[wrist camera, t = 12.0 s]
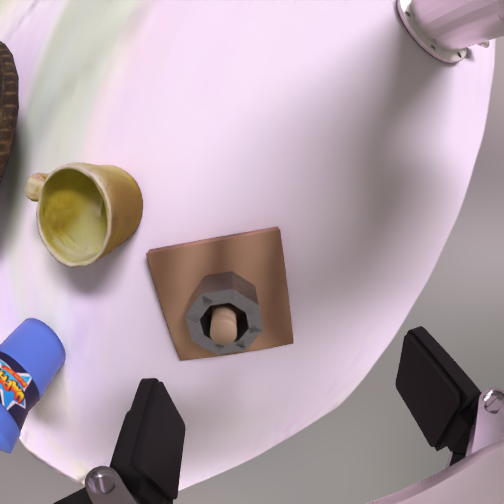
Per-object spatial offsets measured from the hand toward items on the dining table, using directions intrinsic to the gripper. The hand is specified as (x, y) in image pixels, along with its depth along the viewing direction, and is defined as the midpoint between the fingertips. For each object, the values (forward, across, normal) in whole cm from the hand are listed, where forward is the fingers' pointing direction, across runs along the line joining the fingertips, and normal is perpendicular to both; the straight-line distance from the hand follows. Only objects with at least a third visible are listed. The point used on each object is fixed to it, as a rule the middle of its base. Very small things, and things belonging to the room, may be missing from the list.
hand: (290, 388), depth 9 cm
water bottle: (+21, +34, +10) cm, 42 cm away
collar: (+20, +4, +6) cm, 21 cm away
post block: (+21, +4, +7) cm, 23 cm away
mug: (+22, +16, -8) cm, 28 cm away
